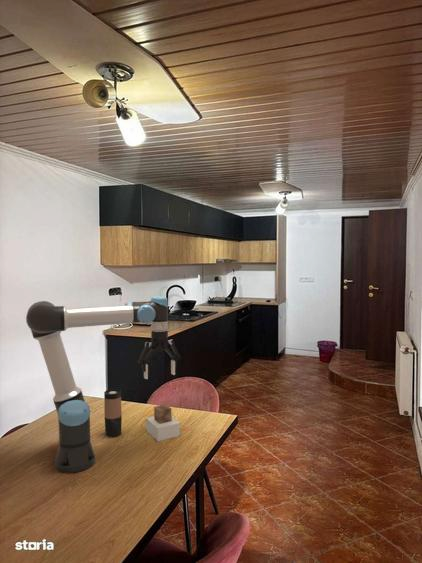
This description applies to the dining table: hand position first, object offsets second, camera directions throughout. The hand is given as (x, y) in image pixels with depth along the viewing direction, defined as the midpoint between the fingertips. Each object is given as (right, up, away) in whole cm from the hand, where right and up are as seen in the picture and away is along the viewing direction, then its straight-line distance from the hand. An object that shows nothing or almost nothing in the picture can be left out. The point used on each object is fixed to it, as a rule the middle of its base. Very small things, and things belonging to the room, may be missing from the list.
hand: (159, 376), depth 184 cm
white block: (+1, -27, +2) cm, 27 cm away
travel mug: (-22, -27, +1) cm, 35 cm away
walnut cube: (+1, -21, +2) cm, 21 cm away
